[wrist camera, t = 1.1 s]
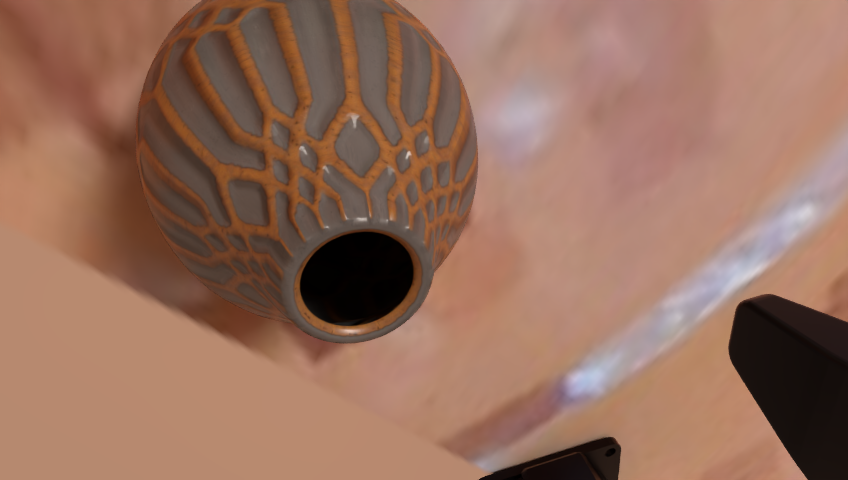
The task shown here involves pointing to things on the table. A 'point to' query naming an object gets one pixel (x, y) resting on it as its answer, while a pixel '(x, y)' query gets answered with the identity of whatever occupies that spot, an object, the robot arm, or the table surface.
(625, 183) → the table surface
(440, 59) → the vase
